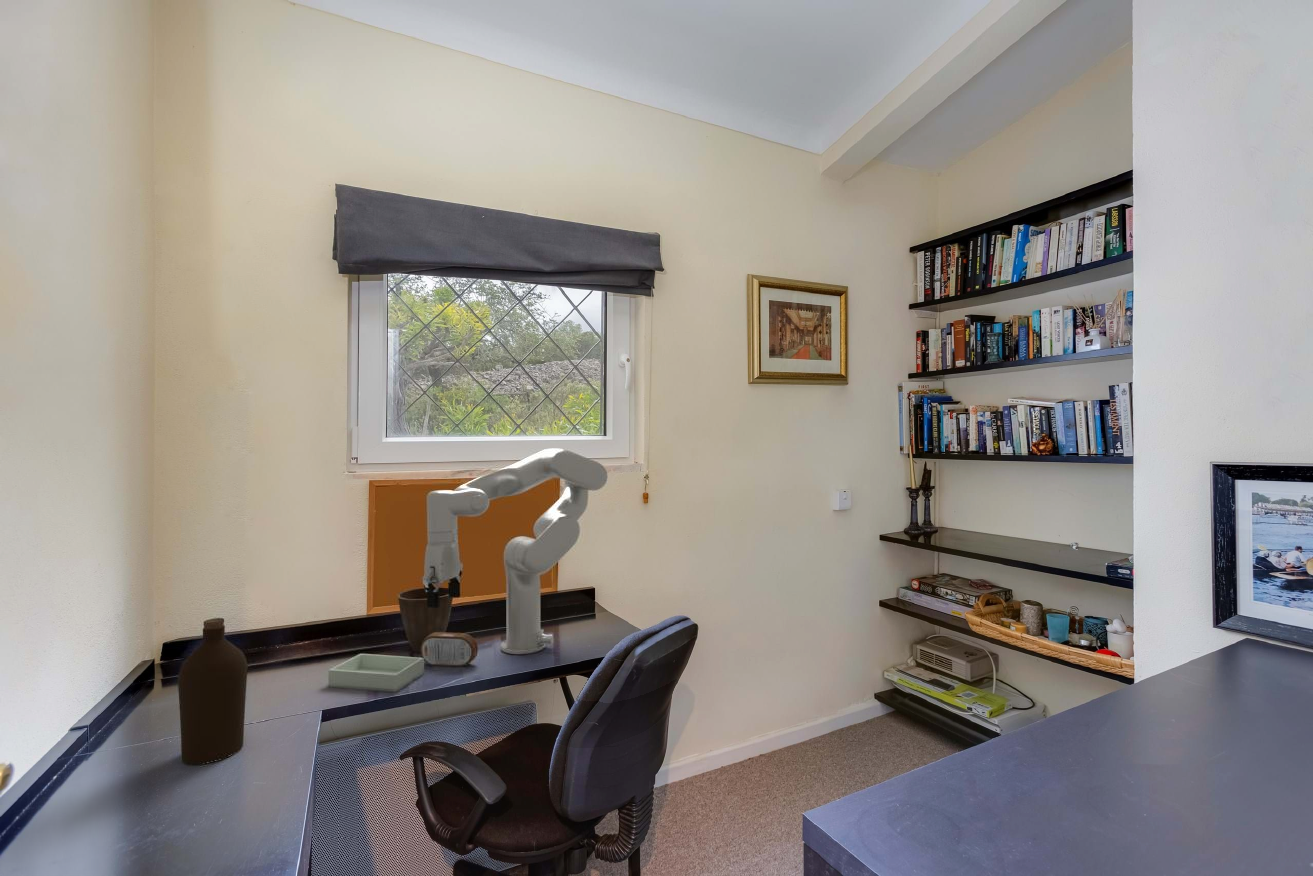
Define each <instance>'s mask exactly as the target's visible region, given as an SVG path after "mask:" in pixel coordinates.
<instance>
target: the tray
mask: <svg viewBox="0 0 1313 876" xmlns="http://www.w3.org/2000/svg"><path fill="white" fill-rule="evenodd" d="M327 674H328V675H327V676H328V684H327V685H328V687H329V688H339V689H340V688H341V689H350V690H351V689H354V690H363V691H364V690H365V691H366V690H367V691H374V692H375V691H376V692H390V693H397V692H398V691H400V690H402V689H403V688H404V687H406V686H408V685H409V684H411V683H412V682H414V681H415V680H416V679H418V678H420V677H422V676H423V675H424V674H425V661H424V658H422V657H418V656H417V657H416V656H414V657H413V656H402V655H401V656H400V655H388V654H387V655H385V654H373V653H371V654H370V653H359V654H356V655H355V656H353V657H351V658H349V659H347V660H345V661H343V662H341V663H339V664H337V665H335V666H333V667H332V668H329V669H328V673H327Z"/></svg>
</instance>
